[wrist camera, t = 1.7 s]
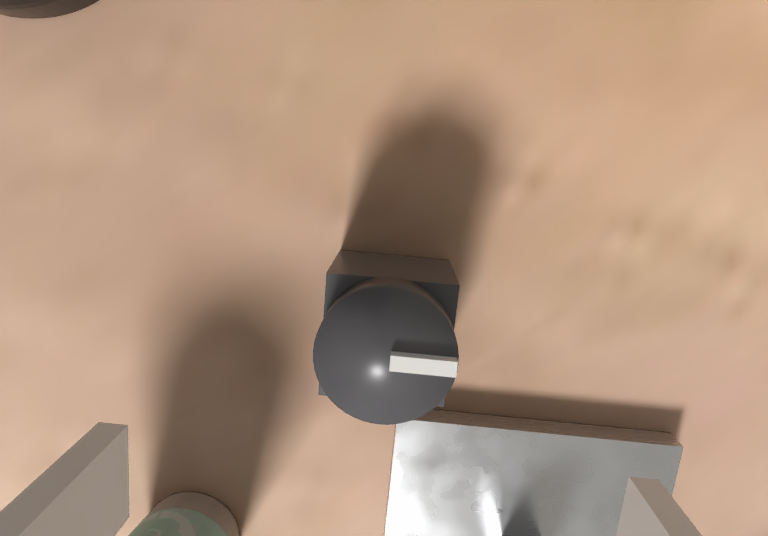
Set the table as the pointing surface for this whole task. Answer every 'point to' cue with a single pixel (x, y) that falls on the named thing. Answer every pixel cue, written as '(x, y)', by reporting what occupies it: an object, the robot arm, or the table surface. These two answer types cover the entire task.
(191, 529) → the coffee cup
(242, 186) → the table surface
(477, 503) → the grey square plate
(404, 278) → the knob
